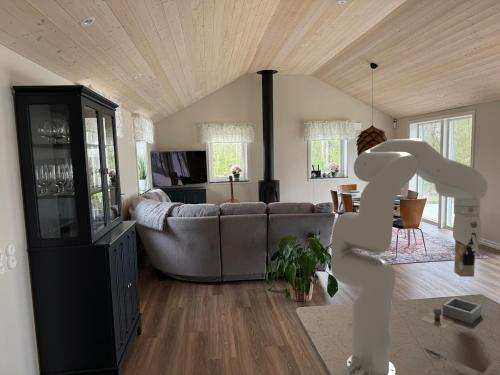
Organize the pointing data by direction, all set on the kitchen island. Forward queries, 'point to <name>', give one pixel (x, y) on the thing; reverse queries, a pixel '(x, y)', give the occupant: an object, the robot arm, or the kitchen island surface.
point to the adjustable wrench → (433, 354)
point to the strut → (458, 266)
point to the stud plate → (438, 323)
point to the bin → (462, 310)
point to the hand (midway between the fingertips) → (464, 262)
